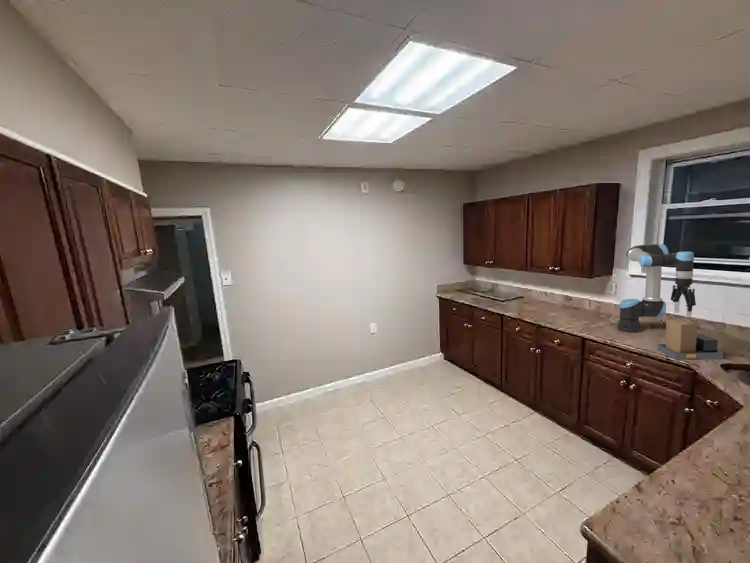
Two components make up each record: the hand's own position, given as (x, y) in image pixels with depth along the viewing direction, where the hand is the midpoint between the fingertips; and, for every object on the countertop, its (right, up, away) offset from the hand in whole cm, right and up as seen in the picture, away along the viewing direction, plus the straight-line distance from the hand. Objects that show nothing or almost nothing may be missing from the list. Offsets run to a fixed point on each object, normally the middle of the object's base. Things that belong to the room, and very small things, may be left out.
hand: (682, 314), depth 198 cm
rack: (+7, -25, +3) cm, 26 cm away
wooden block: (+2, -24, +4) cm, 25 cm away
